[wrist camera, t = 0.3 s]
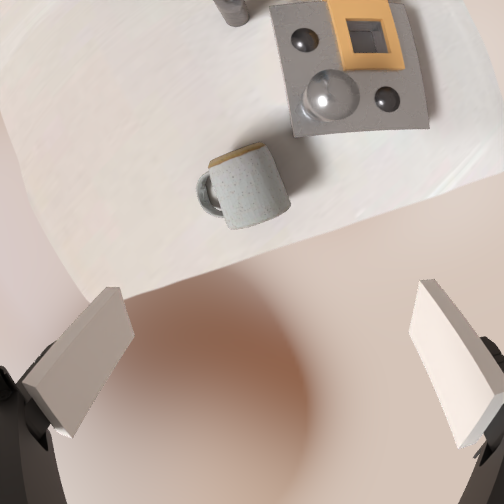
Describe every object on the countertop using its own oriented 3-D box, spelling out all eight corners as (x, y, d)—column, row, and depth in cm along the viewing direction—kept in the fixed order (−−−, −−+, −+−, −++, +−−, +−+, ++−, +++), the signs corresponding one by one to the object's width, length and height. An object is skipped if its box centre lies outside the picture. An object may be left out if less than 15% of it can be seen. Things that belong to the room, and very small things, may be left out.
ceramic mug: (267, 137, 35) (261, 139, 28) (291, 199, 37) (292, 216, 30) (189, 169, 37) (166, 180, 30) (214, 226, 40) (199, 249, 33)
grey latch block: (270, 17, 29) (264, -26, 18) (393, 14, 26) (430, -21, 15) (293, 137, 34) (298, 139, 23) (416, 128, 32) (465, 131, 21)
